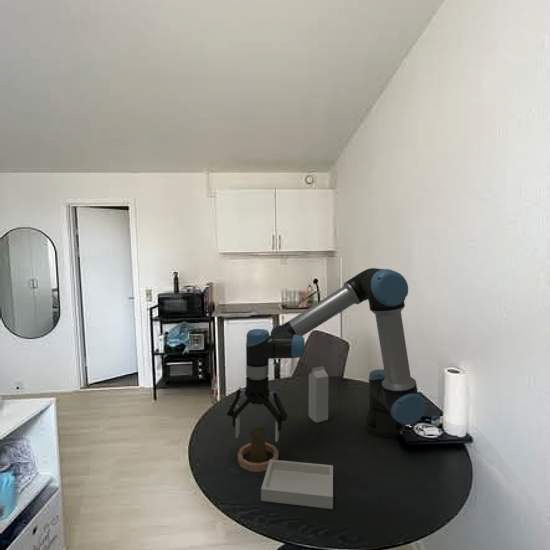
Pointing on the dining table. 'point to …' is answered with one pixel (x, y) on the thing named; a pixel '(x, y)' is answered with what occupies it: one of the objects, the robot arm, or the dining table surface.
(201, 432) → the dining table surface
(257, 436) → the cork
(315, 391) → the milk
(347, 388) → the dining table surface
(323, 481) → the tray
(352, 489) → the dining table surface
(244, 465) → the ring
